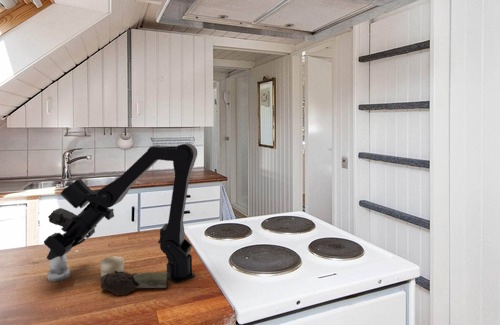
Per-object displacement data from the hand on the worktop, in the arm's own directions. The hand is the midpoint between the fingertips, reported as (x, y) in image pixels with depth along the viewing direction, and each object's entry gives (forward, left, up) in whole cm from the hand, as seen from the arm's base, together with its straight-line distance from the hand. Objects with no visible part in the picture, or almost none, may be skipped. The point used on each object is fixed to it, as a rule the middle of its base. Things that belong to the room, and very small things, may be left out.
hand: (52, 255), depth 101 cm
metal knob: (-1, +1, -7) cm, 7 cm away
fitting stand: (-13, +11, -7) cm, 19 cm away
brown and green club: (-15, +24, -7) cm, 29 cm away
